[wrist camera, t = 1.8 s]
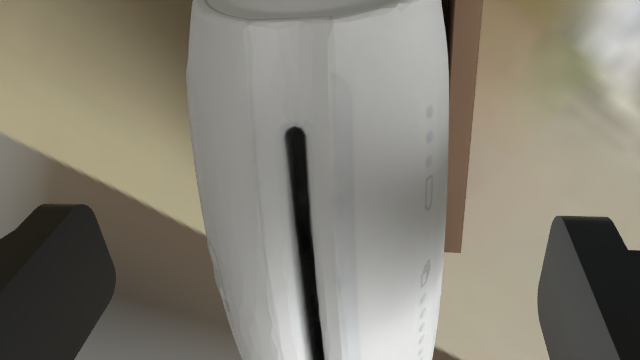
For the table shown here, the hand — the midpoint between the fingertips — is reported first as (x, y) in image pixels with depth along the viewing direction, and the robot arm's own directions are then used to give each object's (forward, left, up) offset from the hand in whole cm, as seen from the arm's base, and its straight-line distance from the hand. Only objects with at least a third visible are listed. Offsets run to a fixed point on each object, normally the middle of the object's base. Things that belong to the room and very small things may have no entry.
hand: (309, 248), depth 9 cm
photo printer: (0, 0, -11) cm, 11 cm away
